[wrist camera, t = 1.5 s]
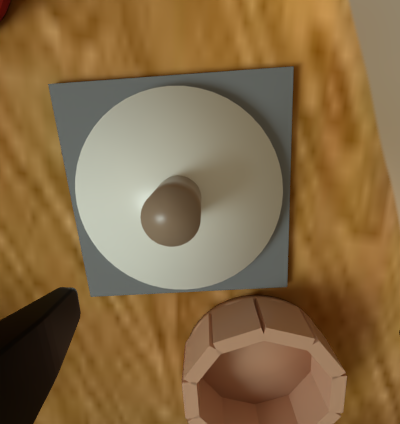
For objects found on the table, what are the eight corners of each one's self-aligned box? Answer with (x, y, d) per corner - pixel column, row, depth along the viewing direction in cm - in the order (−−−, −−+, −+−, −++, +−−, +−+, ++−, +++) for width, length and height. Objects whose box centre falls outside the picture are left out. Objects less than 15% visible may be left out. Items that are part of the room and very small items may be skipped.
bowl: (192, 408, 25) (189, 459, 21) (181, 296, 21) (176, 331, 17) (317, 404, 24) (338, 454, 20) (325, 288, 21) (352, 323, 17)
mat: (93, 293, 21) (90, 296, 21) (52, 85, 17) (48, 84, 17) (285, 283, 21) (287, 286, 20) (290, 68, 17) (293, 66, 16)
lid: (98, 288, 21) (64, 338, 16) (61, 96, 17) (0, 79, 12) (278, 279, 20) (303, 327, 15) (281, 79, 16) (316, 55, 11)
